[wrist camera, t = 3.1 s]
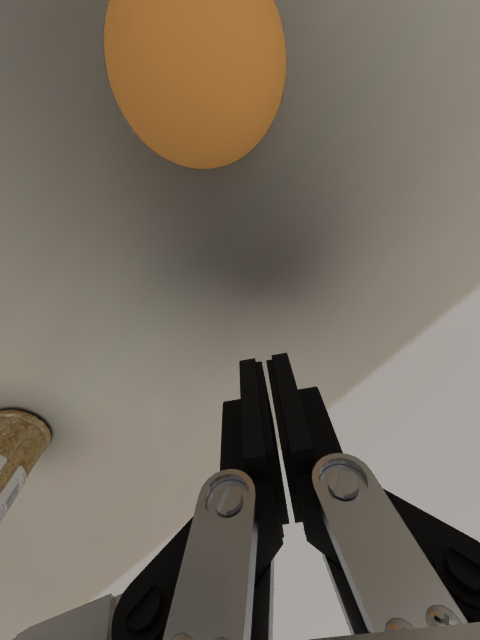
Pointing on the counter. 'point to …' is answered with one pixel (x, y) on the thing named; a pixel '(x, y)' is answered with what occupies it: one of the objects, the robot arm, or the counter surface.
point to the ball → (196, 74)
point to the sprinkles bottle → (18, 452)
